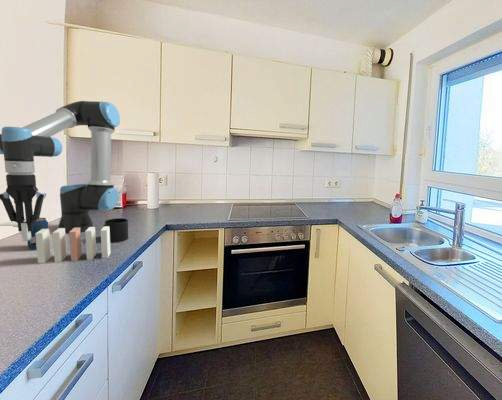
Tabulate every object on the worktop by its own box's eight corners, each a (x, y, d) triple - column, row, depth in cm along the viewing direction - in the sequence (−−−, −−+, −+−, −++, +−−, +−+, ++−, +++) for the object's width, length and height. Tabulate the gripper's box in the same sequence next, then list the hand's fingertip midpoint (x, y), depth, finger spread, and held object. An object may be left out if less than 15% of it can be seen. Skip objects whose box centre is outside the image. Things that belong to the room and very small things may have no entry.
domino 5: (101, 258, 98) (100, 230, 96) (104, 252, 104) (103, 226, 102) (107, 258, 99) (106, 230, 97) (110, 252, 104) (109, 226, 103)
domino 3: (71, 260, 95) (69, 232, 93) (75, 255, 100) (74, 227, 98) (77, 260, 95) (75, 231, 94) (81, 254, 101) (80, 227, 99)
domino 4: (86, 259, 96) (85, 231, 95) (90, 253, 102) (89, 227, 100) (92, 259, 97) (91, 231, 95) (96, 253, 103) (95, 226, 101)
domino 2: (54, 262, 93) (52, 232, 91) (60, 256, 99) (58, 228, 97) (61, 261, 94) (59, 232, 92) (66, 255, 99) (64, 228, 97)
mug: (110, 235, 126) (109, 217, 125) (132, 237, 124) (132, 219, 123) (95, 240, 117) (94, 221, 116) (119, 243, 115) (118, 223, 114)
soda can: (36, 244, 109) (34, 217, 107) (53, 244, 110) (51, 217, 108) (23, 250, 102) (20, 221, 100) (42, 250, 103) (39, 221, 101)
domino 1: (38, 263, 91) (35, 233, 90) (44, 257, 97) (42, 228, 95) (44, 262, 92) (42, 233, 90) (51, 256, 98) (49, 228, 96)
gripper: (-11, 174, 82) (-3, 244, 86) (39, 174, 87) (44, 242, 90) (2, 172, 89) (9, 237, 93) (48, 173, 94) (53, 235, 97)
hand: (27, 239), depth 92 cm, fingers closed
